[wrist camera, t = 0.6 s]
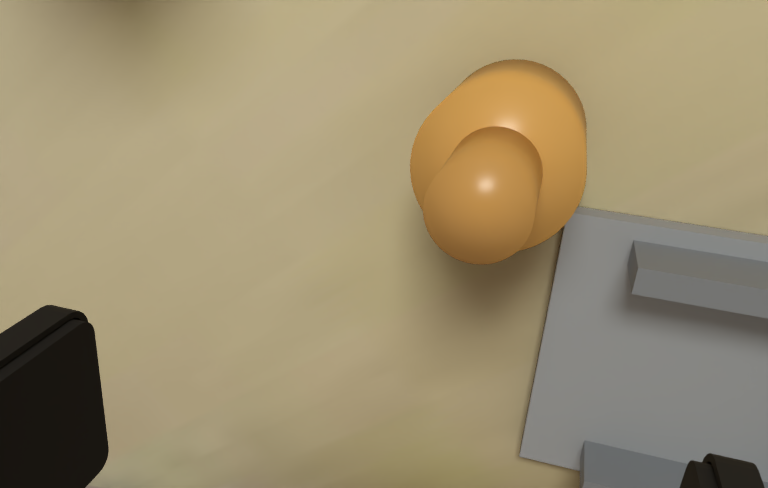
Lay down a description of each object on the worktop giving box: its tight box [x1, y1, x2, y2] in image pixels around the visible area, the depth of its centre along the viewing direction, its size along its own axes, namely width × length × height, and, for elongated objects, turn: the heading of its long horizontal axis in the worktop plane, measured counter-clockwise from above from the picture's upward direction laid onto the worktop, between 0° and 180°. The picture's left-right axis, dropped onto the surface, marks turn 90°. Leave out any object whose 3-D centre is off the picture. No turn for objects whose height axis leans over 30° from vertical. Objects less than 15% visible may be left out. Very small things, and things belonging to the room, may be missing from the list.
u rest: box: [519, 207, 768, 488], centre depth 30 cm, size 16×14×4 cm
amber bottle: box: [410, 59, 587, 264], centre depth 25 cm, size 6×6×11 cm
